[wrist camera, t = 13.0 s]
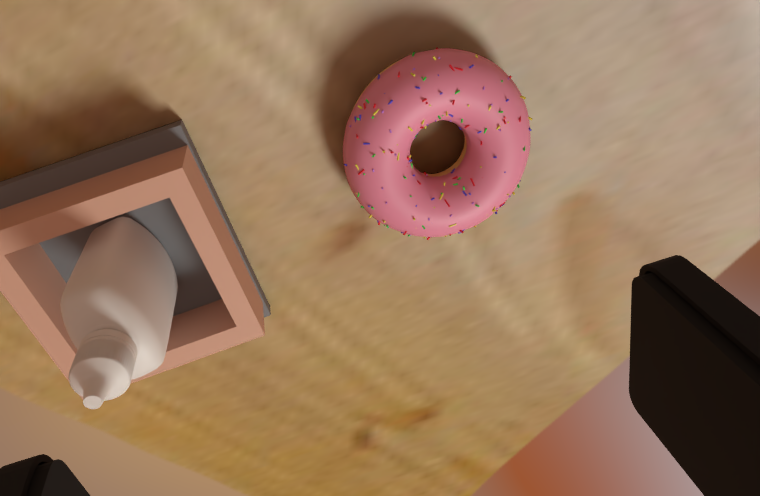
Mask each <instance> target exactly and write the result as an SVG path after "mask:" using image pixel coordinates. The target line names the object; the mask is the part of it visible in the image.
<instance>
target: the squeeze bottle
mask: <svg viewBox="0 0 760 496" xmlns="http://www.w3.org/2000/svg"><path fill="white" fill-rule="evenodd" d="M177 289H178V283H177V277H176V272H175V269H174V266H173V263H172V261H171V259H170V257H169V255H168V253H167V252H166V250H165V249H164V247H163V246H162V244H161V243H160V242H159V241H158V240H157V239H156V238H155V237H154V235H152V234H151V233H150V232H149V231H148V230H147V229H146V228H144V227H143V226H142V225H140V224H139V223H137V222H136V221H134V220H132V219H131V218H127V217H119V218H116V219H113V220H111V221H109V222H107V223H105V224H103V225H101V226H99V227H97V228H95V229H94V230H93V231H92V232H91V234H90V236H89V238H88V240H87V242H86V245H85V247H84V249H83V251H82V253H81V255H80V257H79V259H78V261H77V263H76V265H75V267H74V269H73V272H72V274H71V276H70V278H69V280H68V282H67V284H66V287H65V289H64V291H63V294H62V298H61V303H60V306H61V313H62V317H63V321H64V324H65V327H66V330H67V332H68V334H69V336H70V338H71V340H72V342H73V344H74V345H75V347H76V348H77V353H76V355H75V358H74V361H73V363H72V366H71V368H70V371H69V375H68V376H69V377H68V378H69V383H70V385H71V387H72V388H73V390H74V391H75V392H76V393H77V394H79V395H80V396H82V397H83V404H84V406H85V407H87V408H89V409H97V408H99V407H100V406H101V405H102V403H103V402H104V401H106V400H111V399H114V398H116V397H118V396H120V395H122V394H123V393H124V392H125V391H126V390H127V389H128V387H129V385H130V383H131V380H132V379H136V378H139V377H142V376H144V375H146V374H148V373H150V372H152V371H154V370H155V369H157V368H158V367H159V366H160V365H161V364H162V363H163V361H164V358H165V354H166V350H167V345H168V340H169V335H170V329H171V324H172V318H173V312H174V307H175V301H176V295H177Z"/></svg>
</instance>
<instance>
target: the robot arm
mask: <svg viewBox="0 0 760 496" xmlns="http://www.w3.org/2000/svg"><path fill="white" fill-rule="evenodd" d="M629 393H630V398H631V401H632V403H633V405H634V407H635V409H636V410H637V412H638V413H639V414H640V415H641V417H642V418H643V419H644V421H645V422H646V423H647V424H648V426H649V427H650V428H651V429H652V431H653V432H654V433H655V434H656V436H657V437H658V438H659V440H660V441H661V442H662V443H663V445H664V446H665V447H666V448H667V449H668V451H669V452H670V453H671V455H672V456H673V457H674V458H675V460H676V461H677V462H678V463H679V464H680V466H681V467H682V468H683V469H684V471H685V472H686V473H687V474H688V476H689V477H690V478H691V480H692V481H693V482H694V483H695V485H696V486H697V487H698V488H699V489H700V491H701V492H702V493H703V495H704V496H760V316H758V315H757V314H756V313H755V312H753V311H752V310H751V309H749V308H748V307H747V306H745V305H744V304H743V303H742V302H740V301H739V300H738V299H737V298H735V297H734V296H733V295H732V294H730V293H729V292H728V291H726V290H725V289H724V288H723V287H721V286H720V285H719V284H718V283H716V282H715V281H714V280H712V279H711V278H710V277H709V276H707V275H706V274H705V273H704V272H702V271H701V270H700V269H698V268H697V267H696V266H695V265H693V264H692V263H691V262H690V261H688V260H687V259H685V258H684V257H682V256H678V255H675V256H672V257H669V258H666V259H662V260H659V261H656V262H653V263H650V264H646V265H644V266H642V268H641V269H640V273H639V276H638V277H635V278H634V279H633V281H632V299H631V337H630V374H629ZM0 496H90V495H89V494H88V492H87V491H86V490H85V488H84V487H83V486H82V484H81V483H80V482H79V481H78V479H77V478H76V477H75V476H74V474H73V473H72V472H71V470H70V469H69V468H68V466H67V465H66V464H65V463H64V462H63V461H62V460H54V461H53V460H52V459H51V458H50V457H49V456H47V455H44V454H42V455H38V456H34V457H31V458H28V459H25V460H22V461H18V462H15V463H12V464H9V465H6V466H3V467H2V468H0Z"/></svg>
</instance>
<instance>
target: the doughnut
mask: <svg viewBox="0 0 760 496" xmlns="http://www.w3.org/2000/svg"><path fill="white" fill-rule="evenodd" d="M523 99H526V98H525V97H523V96H522V95H521V93H520V91H519V90H518V88H517V86H516V85H515V83H514V82H513V81H512V79H511V75H510V76H508V75H507V74H506V73H505V72H504V71H503V70H502V69H501V68H500V67H499V66H497V65H496V64H495V63H493V62H492V61H490V60H488V59H487V58H485V57H482V56H480V55H478V54H475V53H472V52H468V51H464V50H459V49H451V48H442V49H438V48H436V49H435V50H429V51H423V52H419V53H415V52H413V54H411V55H408V56H406V57H404V58H403V59H401V60H399V61H397V62H395V63H393V64H392V65H390V66H389V67H387V68H386V69H384V70H383V71H382V72H381V73H379V74H378V75H377V76H376V77H375V78H374V79H373V80H372V81H371V82H370V83H369V84H368V86H367V87H366V88H365V89H364V91H363V92H362V94H361V95H360V97H359V98H358V100H357V102H356V104H355V106H354V108H353V110H352V112H351V115H350V117H349V119H348V122H347V125H346V129H345V135H344V141H343V161H344V168H345V173H346V177H347V180H348V183H349V185H350V188H351V190H352V192H353V194H354V195H355V197H356V198H357V200H358V201H359V203H360V204H361V205H362V206H361V208H364V209H365V210H366V211H367V212H368V213H369V214H370V216H369V218H371V217H374V218H375V219H376V220H377V221H378V225H380V222H381V223H382V224H384V226H385V225H386V226H387V228H388V227H390V228H392V229H395V230H398V231H401V233H404V234H403V235H405V234H406V233H407V234H409V235H408V236H411V235H415V236H423V237H424V238H425V237H428V238H427V240H429V238H430V237H440V236H445V237H446V236H447V235H450V236H451V234H455V233H460V232H462V233H463V231H464V230H466V229H469V228H471V227H476V226H475V225H477V224H479V223H481V222H482V221H484V220H485V219H487V218H488V217H489V216H491V215H492V214H493V213H494V212H495V214H497V211H498V210H497V209H498V208H500V207H501V206H503V205H504V203H505V201H506V200H507V199H508V198H509V197H511V196H510V195H511V194H512V193H513V195H514V194H515V193H514V192H513V191H514V190H515V188H516V186H518V188H519V184H518V183H519V182H520V181H521V180H520V179H521V177H522V174H523V172H524V169H525V166H526V163H527V159H528V155H529V150H530V131H531V129H530V125H529V119H530V120H532V118H530V117H528V112H527V108H526V105H525V103H524V100H523ZM439 120H447V121H450V122H453V123H455V124H456V125H458V127H459V129H460V130H462V131H463V133H464V137H465V143H464V148H463V151H462V153H461V155H460V157H459V158H458V160H457V161H456V162H455V163H454V164H453V165H452V166H451V167H450V168H448V169H446V170H445V171H442V172H440V173H436V174H426V172H424V173H421V172H420V171H418V170H417V169H416V168H415V166H414V165H413V163H412V159H411V155H410V147H411V144H412V141H413V139H415V138H416V136H417V134H418V132H419V131H420V130H421V129H422V128H424V129H426V125H427V126H428V124H430V123H432V122H438V121H439Z"/></svg>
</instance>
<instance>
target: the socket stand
mask: <svg viewBox="0 0 760 496" xmlns="http://www.w3.org/2000/svg"><path fill="white" fill-rule="evenodd" d="M119 217H127V218H131V219H132V220H134V221H136V222H137V223H139V224H140V225H142V226H143V227H144V228H146V229H147V230H148V231H149V232H150V233H151V234H152V235H154V237H155V238H156V239H157V240H158V241H159V242H160V243H161V244H162V246H163V247H164V249H165V250H166V252H167V253H168V255H169V257H170V259H171V261H172V263H173V266H174V269H175V272H176V277H177V283H178V289H177V295H176V301H175V307H174V312H173V318H172V324H171V329H170V335H169V340H168V345H167V350H166V354H165V358H164V361H163V363H162V364H161V365H160V366H159V367H158V368H157V369H155V370H154V371H152V372H150V373H148V374H146V375H144V376H142V377H139V378H136V379H132V380H131V383H134V382H136V381H139V380H142V379H145V378H147V377H150V376H153V375H156V374H159V373H161V372H164V371H167V370H170V369H172V368H175V367H178V366H181V365H184V364H186V363H189V362H192V361H195V360H197V359H200V358H203V357H206V356H208V355H211V354H214V353H217V352H220V351H222V350H225V349H228V348H231V347H233V346H236V345H239V344H242V343H245V342H247V341H250V340H253V339H256V338H258V337H261V336H264V335H265V330H264V317H267V316H269V315H271V313H270V305H269V303H268V301H267V299H266V297H265V295H264V293H263V290H262V288H261V286H260V284H259V282H258V280H257V278H256V276H255V274H254V271H253V269H252V267H251V265H250V263H249V261H248V259H247V257H246V254H245V252H244V250H243V248H242V246H241V244H240V242H239V240H238V238H237V235H236V233H235V231H234V229H233V227H232V225H231V223H230V221H229V218H228V216H227V214H226V212H225V210H224V208H223V206H222V204H221V201H220V199H219V197H218V195H217V193H216V191H215V189H214V187H213V185H212V182H211V180H210V178H209V176H208V174H207V172H206V170H205V168H204V165H203V163H202V161H201V159H200V157H199V155H198V153H197V151H196V148H195V146H194V144H193V142H192V140H191V138H190V136H189V134H188V132H187V129H186V127H185V125H184V123H183V121H182V120H180V121H177V122H174V123H171V124H168V125H165V126H162V127H159V128H157V129H154V130H151V131H148V132H145V133H142V134H139V135H136V136H133V137H130V138H127V139H124V140H121V141H119V142H116V143H113V144H110V145H107V146H104V147H101V148H98V149H95V150H92V151H89V152H86V153H84V154H81V155H78V156H75V157H72V158H69V159H66V160H63V161H60V162H57V163H54V164H51V165H48V166H46V167H43V168H40V169H37V170H34V171H31V172H28V173H25V174H22V175H19V176H16V177H13V178H10V179H8V180H5V181H2V182H0V291H1V292H2V294H3V295H4V296H5V298H6V299H7V300H8V302H9V303H10V304H11V305H12V307H13V308H14V309H15V311H16V312H17V313H18V315H19V316H20V317H21V319H22V320H23V321H24V323H25V324H26V325H27V327H28V328H29V329H30V331H31V332H32V333H33V335H34V336H35V337H36V339H37V340H38V341H39V343H40V344H41V345H42V346H43V348H44V349H45V350H46V352H47V353H48V354H49V356H50V357H51V358H52V360H53V361H54V362H55V364H56V365H57V366H58V368H59V369H60V370H61V372H62V373H63V374H64V376H65V377H66V378H67V380H68V381H69V378H68V377H69V376H68V375H69V371H70V368H71V366H72V363H73V361H74V358H75V355H76V353H77V348H76V347H75V345H74V344H73V342H72V340H71V338H70V336H69V334H68V332H67V330H66V327H65V324H64V321H63V317H62V313H61V306H60V303H61V298H62V294H63V291H64V289H65V287H66V284H67V282H68V280H69V278H70V276H71V274H72V272H73V269H74V267H75V265H76V263H77V261H78V259H79V257H80V255H81V253H82V251H83V249H84V247H85V245H86V242H87V240H88V238H89V236H90V234H91V232H92V231H93V230H94V229H95V228H97V227H99V226H101V225H103V224H105V223H107V222H109V221H111V220H113V219H116V218H119ZM131 383H130V384H131ZM80 397H81V398H82V399H83V397H82V396H80Z"/></svg>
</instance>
